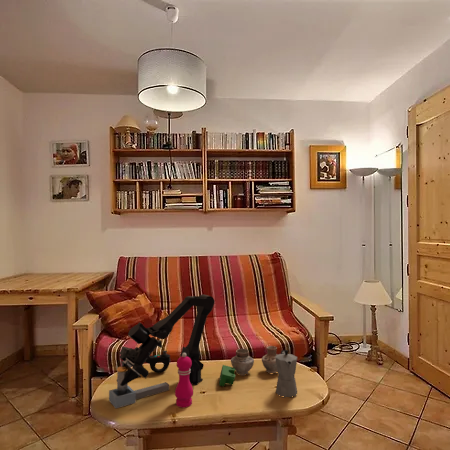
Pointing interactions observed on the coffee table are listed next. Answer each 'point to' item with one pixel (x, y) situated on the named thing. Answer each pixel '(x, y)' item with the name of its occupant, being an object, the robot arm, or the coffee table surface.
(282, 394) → the coffeepot
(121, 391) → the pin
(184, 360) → the pepper mill
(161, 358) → the controller
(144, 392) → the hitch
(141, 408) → the coffee table surface
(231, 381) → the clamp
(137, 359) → the robot arm
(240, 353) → the pottery
